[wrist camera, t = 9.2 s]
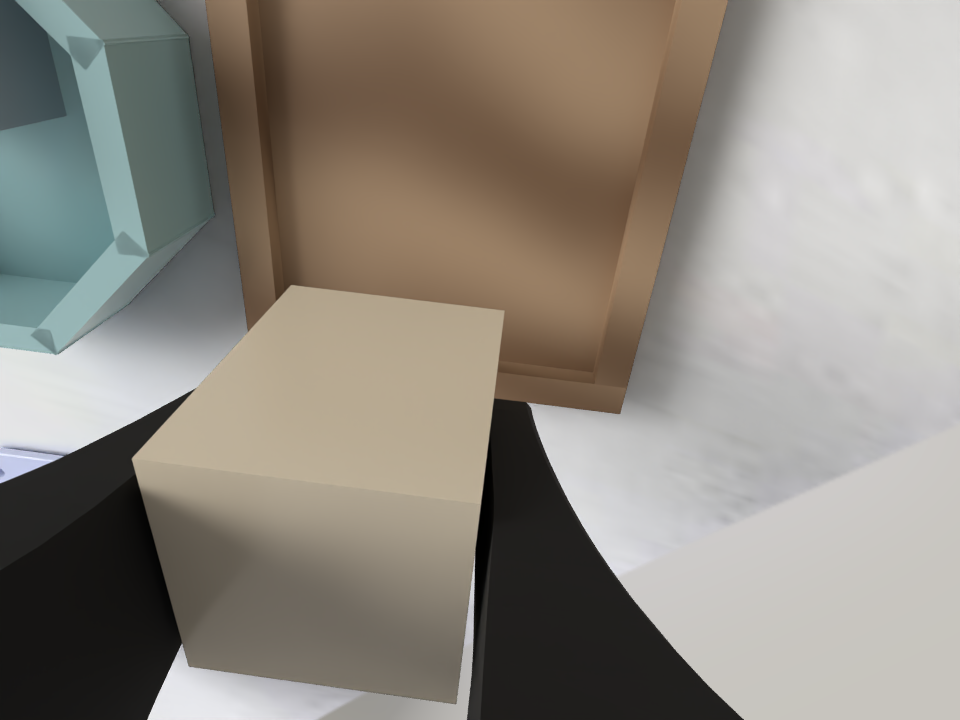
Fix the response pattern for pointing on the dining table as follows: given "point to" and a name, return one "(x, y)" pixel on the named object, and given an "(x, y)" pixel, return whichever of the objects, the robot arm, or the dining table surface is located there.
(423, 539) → the beige block
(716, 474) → the dining table surface
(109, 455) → the robot arm
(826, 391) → the dining table surface
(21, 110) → the grey block
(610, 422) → the dining table surface
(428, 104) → the tray
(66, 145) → the bowl
